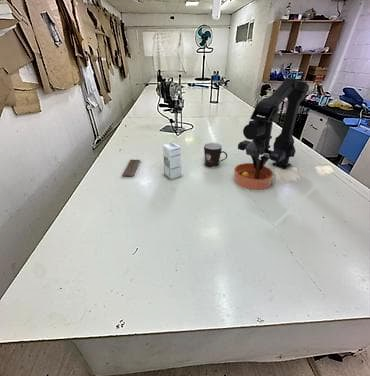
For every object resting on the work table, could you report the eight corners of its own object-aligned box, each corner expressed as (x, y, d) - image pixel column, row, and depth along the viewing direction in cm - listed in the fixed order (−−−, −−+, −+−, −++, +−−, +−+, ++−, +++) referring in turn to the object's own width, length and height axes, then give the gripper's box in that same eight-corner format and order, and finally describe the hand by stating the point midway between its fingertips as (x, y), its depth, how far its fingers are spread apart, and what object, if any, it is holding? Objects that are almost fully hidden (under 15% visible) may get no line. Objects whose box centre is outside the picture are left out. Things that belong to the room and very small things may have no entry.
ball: (245, 175, 105) (247, 170, 103) (249, 179, 102) (251, 173, 101) (239, 176, 104) (241, 170, 102) (243, 180, 101) (245, 174, 100)
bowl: (246, 169, 112) (247, 160, 110) (277, 182, 101) (279, 171, 99) (226, 180, 102) (227, 170, 100) (258, 195, 91) (260, 184, 89)
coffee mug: (199, 162, 118) (200, 144, 114) (214, 160, 121) (215, 141, 117) (211, 172, 108) (213, 152, 104) (227, 169, 112) (229, 149, 108)
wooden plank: (133, 174, 103) (122, 173, 103) (133, 177, 104) (122, 176, 104) (139, 159, 119) (130, 159, 118) (140, 162, 119) (130, 161, 119)
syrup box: (181, 176, 105) (181, 146, 99) (170, 179, 102) (169, 148, 96) (174, 171, 109) (174, 142, 103) (163, 174, 106) (162, 144, 100)
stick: (255, 177, 103) (258, 158, 99) (259, 179, 101) (262, 160, 98) (253, 179, 101) (255, 160, 98) (257, 180, 100) (260, 161, 96)
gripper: (231, 132, 94) (228, 167, 100) (275, 145, 82) (268, 183, 88) (247, 127, 101) (243, 160, 107) (289, 137, 89) (282, 174, 95)
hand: (257, 168), depth 99 cm, fingers closed on stick, 2 cm apart
